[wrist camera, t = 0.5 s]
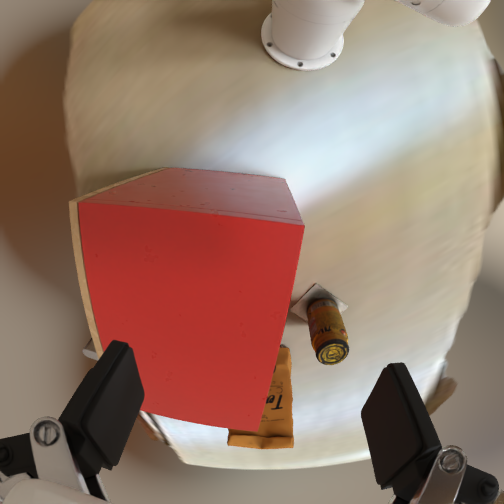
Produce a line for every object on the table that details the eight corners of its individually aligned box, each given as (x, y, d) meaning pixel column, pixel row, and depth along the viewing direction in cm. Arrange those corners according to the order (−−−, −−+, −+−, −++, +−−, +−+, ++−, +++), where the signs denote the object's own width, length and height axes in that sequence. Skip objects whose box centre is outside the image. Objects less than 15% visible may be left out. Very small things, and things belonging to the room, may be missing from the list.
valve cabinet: (170, 307, 52) (121, 404, 29) (171, 167, 42) (77, 202, 19) (263, 320, 52) (257, 431, 29) (285, 178, 41) (305, 225, 19)
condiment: (321, 330, 52) (331, 374, 41) (289, 309, 50) (293, 354, 39) (348, 306, 50) (364, 347, 38) (316, 282, 48) (328, 323, 37)
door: (133, 300, 52) (74, 386, 30) (127, 166, 42) (22, 198, 19) (169, 307, 52) (120, 403, 30) (169, 167, 42) (76, 201, 19)
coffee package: (233, 337, 54) (216, 429, 33) (294, 342, 53) (302, 435, 33) (231, 369, 58) (217, 455, 37) (286, 374, 57) (290, 460, 37)
